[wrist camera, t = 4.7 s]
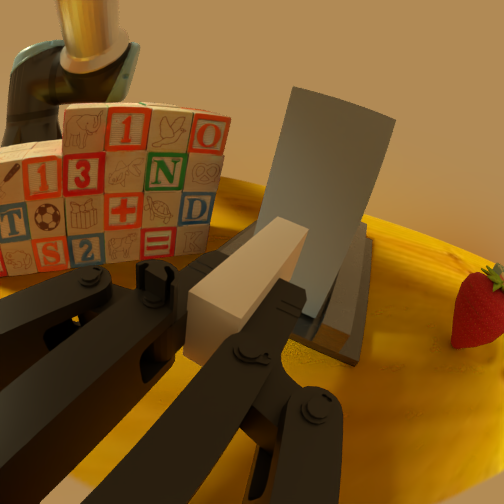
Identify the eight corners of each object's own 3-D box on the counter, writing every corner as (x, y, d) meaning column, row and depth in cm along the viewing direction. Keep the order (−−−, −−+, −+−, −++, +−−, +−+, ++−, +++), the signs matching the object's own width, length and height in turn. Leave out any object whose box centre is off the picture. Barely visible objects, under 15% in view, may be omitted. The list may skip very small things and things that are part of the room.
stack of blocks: (-20, 283, 13) (-48, 129, 7) (-6, 242, 17) (-18, 116, 11) (207, 253, 25) (234, 115, 18) (184, 221, 29) (203, 107, 23)
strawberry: (461, 327, 23) (508, 253, 18) (480, 377, 16) (544, 294, 11) (425, 315, 23) (474, 232, 18) (442, 370, 17) (513, 274, 12)
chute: (180, 283, 20) (185, 229, 18) (280, 206, 39) (288, 176, 37) (354, 366, 16) (389, 320, 14) (370, 243, 35) (383, 214, 33)
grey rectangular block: (240, 283, 20) (292, 86, 13) (265, 256, 24) (311, 97, 17) (315, 318, 19) (396, 119, 12) (328, 284, 23) (389, 124, 16)
